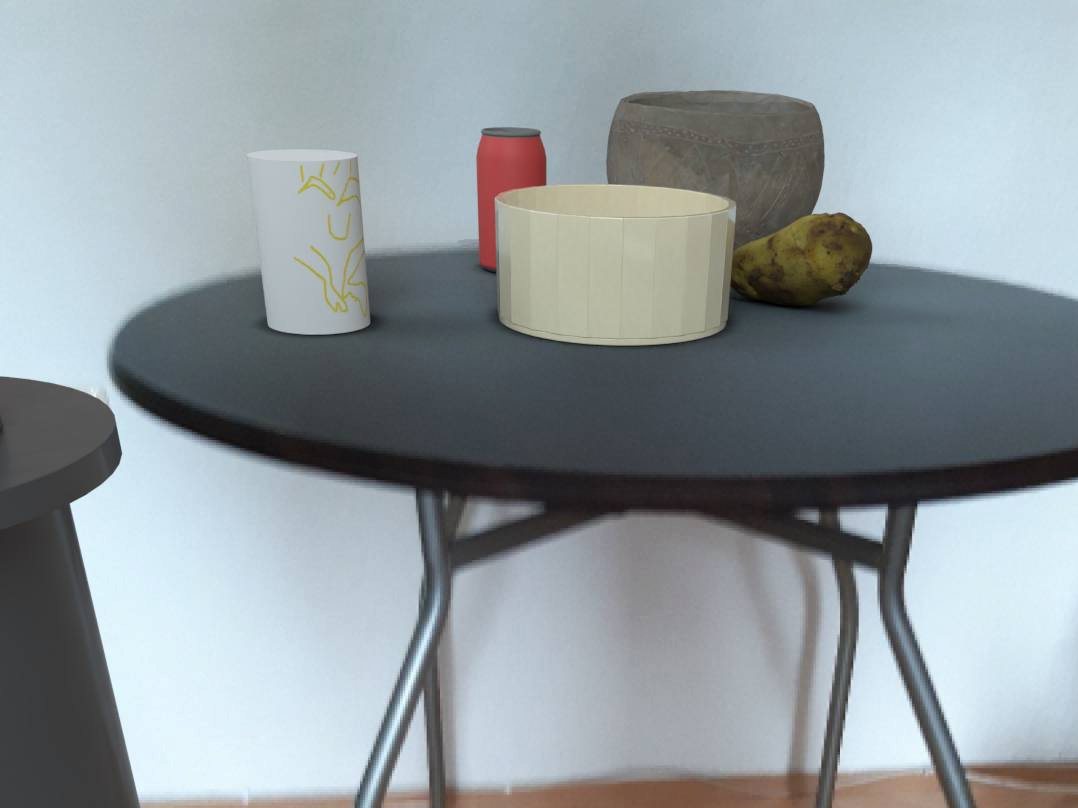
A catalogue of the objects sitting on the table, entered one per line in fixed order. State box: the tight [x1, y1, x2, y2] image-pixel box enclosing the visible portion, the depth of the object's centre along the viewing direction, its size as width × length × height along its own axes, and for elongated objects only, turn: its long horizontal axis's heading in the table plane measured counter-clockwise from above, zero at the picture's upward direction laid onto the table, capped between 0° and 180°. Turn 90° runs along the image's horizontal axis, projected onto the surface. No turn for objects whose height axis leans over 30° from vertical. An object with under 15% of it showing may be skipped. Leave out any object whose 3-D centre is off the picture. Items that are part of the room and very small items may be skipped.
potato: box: [730, 211, 873, 307], centre depth 103 cm, size 8×13×8 cm, turn 31°
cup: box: [246, 148, 371, 336], centre depth 93 cm, size 8×8×12 cm
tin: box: [495, 183, 736, 347], centre depth 98 cm, size 19×19×9 cm
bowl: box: [605, 89, 826, 252], centre depth 116 cm, size 21×21×15 cm
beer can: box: [475, 126, 547, 274], centre depth 114 cm, size 7×7×12 cm
